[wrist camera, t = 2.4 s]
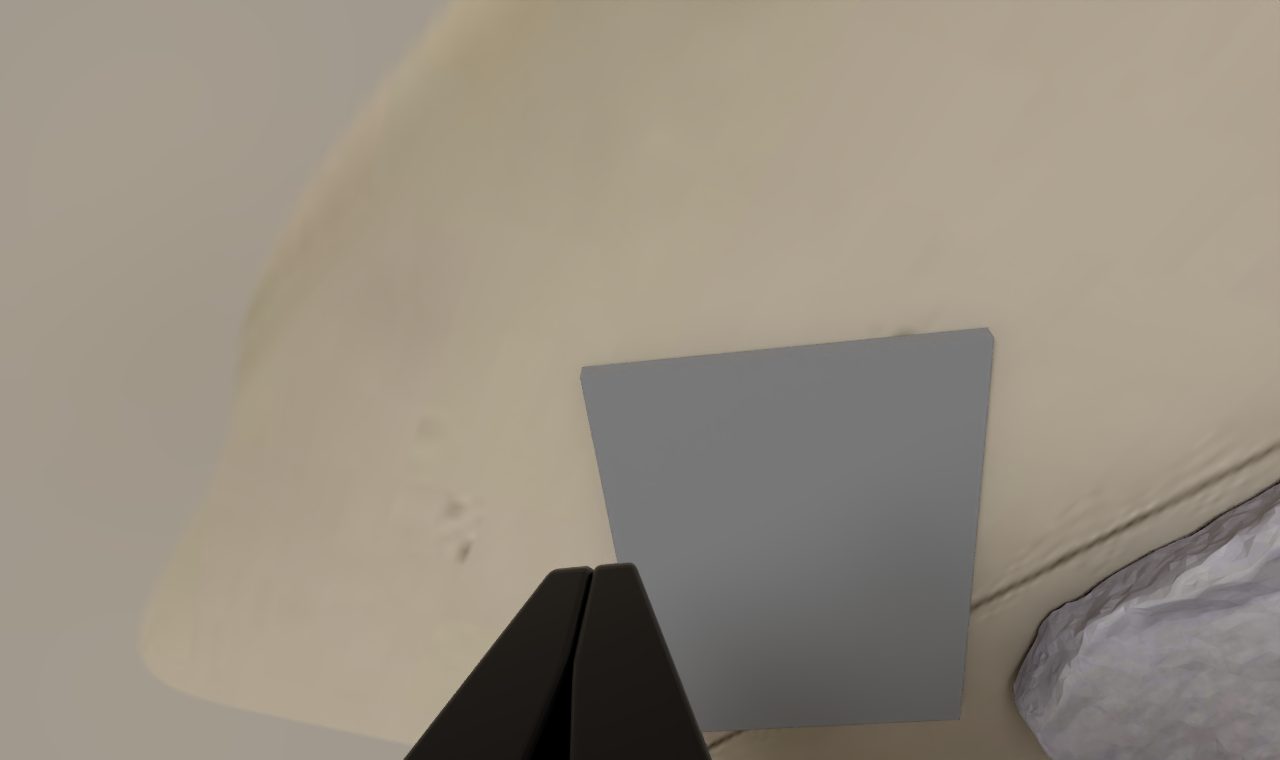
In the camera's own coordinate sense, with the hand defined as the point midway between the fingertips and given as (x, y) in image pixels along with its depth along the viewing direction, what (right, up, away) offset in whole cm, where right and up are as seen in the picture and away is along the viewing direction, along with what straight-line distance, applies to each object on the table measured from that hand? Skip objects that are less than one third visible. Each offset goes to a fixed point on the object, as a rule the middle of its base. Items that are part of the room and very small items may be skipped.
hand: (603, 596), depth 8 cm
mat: (+5, -3, +16) cm, 17 cm away
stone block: (+13, -3, +15) cm, 20 cm away
